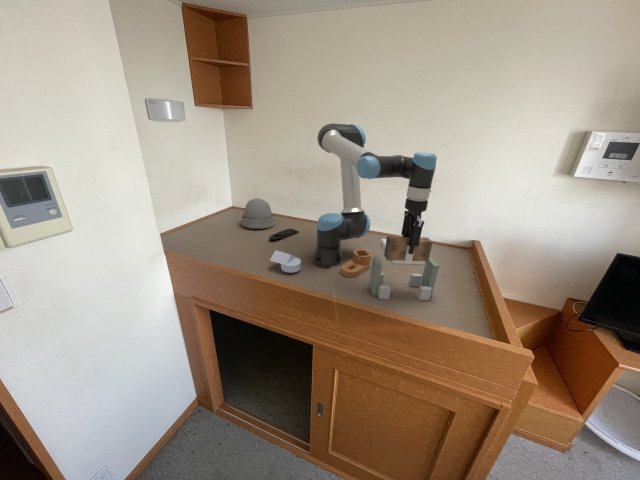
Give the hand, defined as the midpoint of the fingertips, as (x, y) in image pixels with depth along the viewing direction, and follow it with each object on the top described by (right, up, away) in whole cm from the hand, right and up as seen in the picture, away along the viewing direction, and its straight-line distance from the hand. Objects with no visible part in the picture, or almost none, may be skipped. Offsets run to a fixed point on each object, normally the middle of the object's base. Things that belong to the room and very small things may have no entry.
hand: (405, 257), depth 105 cm
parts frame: (+10, 0, +41) cm, 42 cm away
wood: (-59, +9, +56) cm, 82 cm away
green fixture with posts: (-1, -14, +6) cm, 15 cm away
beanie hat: (-74, +13, +67) cm, 101 cm away
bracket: (-17, -7, +22) cm, 28 cm away
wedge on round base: (-54, -1, +22) cm, 59 cm away
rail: (0, 0, 0) cm, 0 cm away
